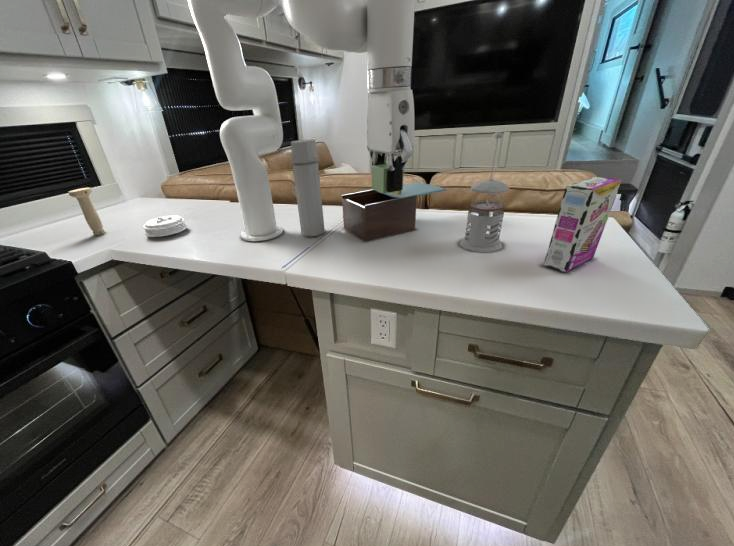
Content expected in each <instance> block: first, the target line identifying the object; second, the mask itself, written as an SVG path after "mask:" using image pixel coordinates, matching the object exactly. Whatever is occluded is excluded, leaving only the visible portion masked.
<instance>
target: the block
mask: <svg viewBox="0 0 734 546" xmlns="http://www.w3.org/2000/svg"><path fill="white" fill-rule="evenodd" d="M389 170H390V169H389V162H387V163H386V164H381V165H375V166H372V165H371V190H376V191H378V192H381V193H389V192H387V171H389ZM404 171H405V168H404V169H403V177H402V190H403V185H404V174H405V173H404Z"/></svg>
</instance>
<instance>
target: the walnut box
mask: <svg viewBox="0 0 734 546" xmlns="http://www.w3.org/2000/svg"><path fill="white" fill-rule="evenodd" d="M417 199H418V197H417V195H413V196H408V197H403V198H398V199H397V198H394V197H391V196H388V195H385V194H382V193H379V192H377V191H376V190H373V189H368V190H363V191H357V192H352V193H347V194H342V195H341V202H342V203H341V204H342V220H343V229H345V230H346V231H348V232H350V233H351V234H353V235H355V236H356V237H358V238H359V239H361V240H363V241H365V242H371V241H374V240H379V239H383V238H386V237H390V236H395V235H399V234H403V233H406V232H407V233H408V232H411V231H412V232H413V231H415V230H416V218H417V202H418V201H417Z"/></svg>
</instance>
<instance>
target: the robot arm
mask: <svg viewBox="0 0 734 546" xmlns="http://www.w3.org/2000/svg"><path fill="white" fill-rule="evenodd" d="M187 3H188V7H189V12H190V13H191V17H192V20H193V22H194V25H195V27H196V29H197V32H198V35H199V38H200V40H201V42H202V45H203V49H204V52H205V58H206V63H207V66H208V70H209V73H210V78H211V81H212V87H213V89H214V93H215V97H216V100H217V102H218V103H219V105H220V106H221V107H222V108H223V109H224V110H227V111H234V112H235V111H236V112H237V111H251V110H252V114H253V115H241V116H234V117H230V118H228V119H226V120H225V121H223V123H221V126H220V129H219V138H220V143H221V145H222V148H223V150H224V152H225V155H226V157H227V160H228V163H229V166H230V170H231V174H232V178H233V183H234V186H235V191H236V194H237V195H236V196H237V200H238V204H239V209H240V213H241V218H242V223H243V227H244V230H242V231H241V233H240V238H241V239H242V240H243V241H247V242H262V241H263V242H265V241H269V240H272V239H275V238H277V237H279V236H281V235H282V234H283V232H284V231H283V227H282V226H281V225H278V224H277V219H276V213H275V209H274V201H273V196H272V190H271V184H270V178H269V173H268V170H267V168H266V166H265V164H264V163H263V161H262V160H261V159H260V157H259V156H260V155H263V154H268V153H273V152H275V151H277V150H279V149H280V148H281V146H282V144H283V142H284V141H283V140H284V129H283V124H282V118H281V111H280V106H279V100H278V95H277V94H278V93H277V89H276V85H275V83H274V80H273V78H272V77H271V75H270V73H269V72H268V71H267V70H266V69H264V68H262V67H259V66H253V65H247V64H246V62H245V58H244V56H243V55H244V54H243V50H242V46H241V41H240V40H239V37H238V35H237V34H236V31H235V30H234V28H233V26H232V25H231V24H230V22H229V21H228V20H227V18H226V15H230V16H236V17H244V18H249V19H261V18H263V17H265V16H267V15H268V14H270V13H271V12H272V11H273V10H275V9H276V8H278V7H279V8H280V9H282V11H283V14H284V16H285V19H286V20H287V22H288V24H289V26H291V28H292V29H294V30H295V31H296V32H297V33H299V34H300V35H302V36H303V37H304V38H305V39H307V40H308V41H310V42H311V43H312V44H314V45H315V46H317V47H319V48H321V49H322V50H326V51H331V52H345V53H353V54H364V53H367V94H368V100H367V101H368V102H367V113H366V141H367V142H366V148H367V149H366V150H367V151H368V153H369V157H370V158H371V167H372V166H375V165H381V164H387V160H388V163H389V169H390V170H389V171H387V192H395V191H400V190H402V177H403V178H404V175H403V169H404V170H405V168H406V163H408V161H409V159H410V158H411V157H412V156H413V152H414V151H413V149H414V146H415V100H414V93H413V89H411V87H412V71H413V70H412V69H413V68H412V66H413V49H414V48H413V47H414V45H413V44H414V27H415V26H414V25H415V6H416V0H187ZM395 157H396V158H395Z"/></svg>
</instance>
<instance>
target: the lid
mask: <svg viewBox="0 0 734 546" xmlns="http://www.w3.org/2000/svg"><path fill="white" fill-rule="evenodd" d="M187 227H188V226H187V224H186V223H185V218H184V217H182V216H180V215H177V214H176V215H175V214H174V215H173V214H171V215H163V216H158V217H155V218H152V219H149V220H147V221H145V223H144V224H143V225H142V228H143V229H144V232H145V236H147V237H150V238H157V237H158V238H159V237H165V236H166V237H167V236H171V235H174V234H178V233H180V232H182V231H185V230H186V229H187Z"/></svg>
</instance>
